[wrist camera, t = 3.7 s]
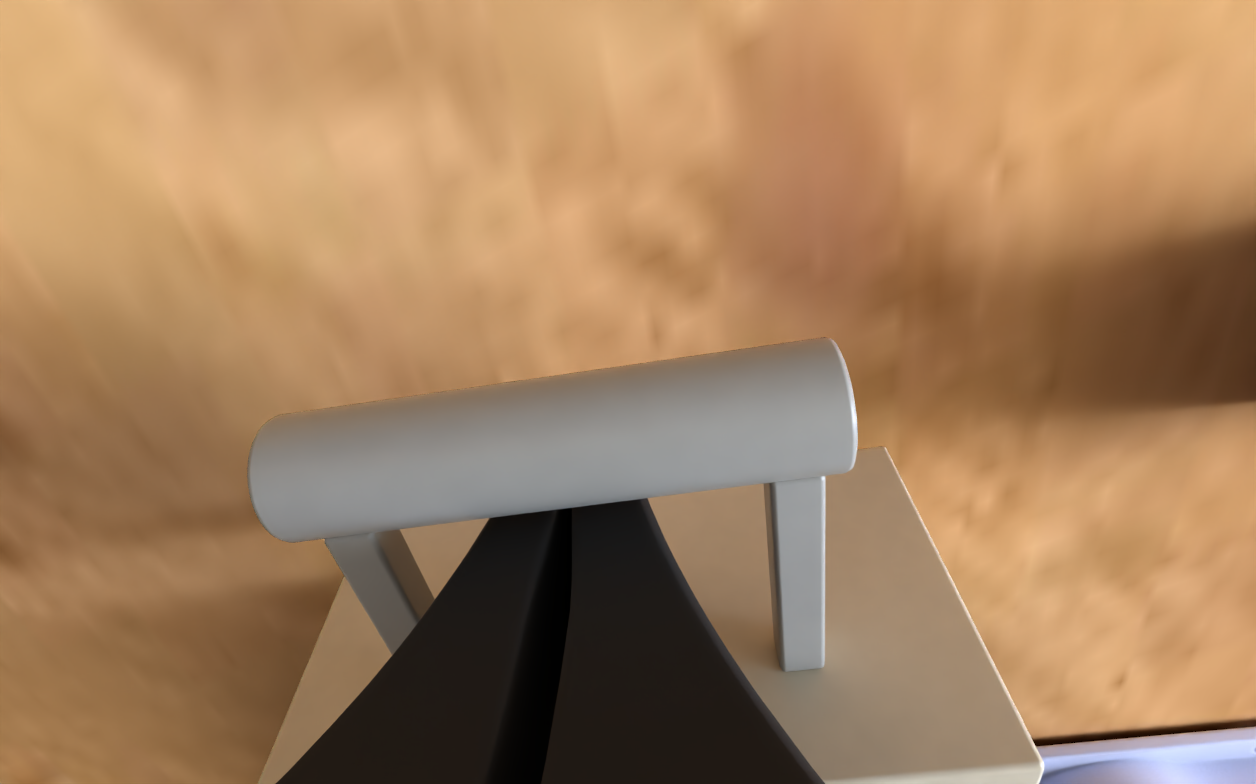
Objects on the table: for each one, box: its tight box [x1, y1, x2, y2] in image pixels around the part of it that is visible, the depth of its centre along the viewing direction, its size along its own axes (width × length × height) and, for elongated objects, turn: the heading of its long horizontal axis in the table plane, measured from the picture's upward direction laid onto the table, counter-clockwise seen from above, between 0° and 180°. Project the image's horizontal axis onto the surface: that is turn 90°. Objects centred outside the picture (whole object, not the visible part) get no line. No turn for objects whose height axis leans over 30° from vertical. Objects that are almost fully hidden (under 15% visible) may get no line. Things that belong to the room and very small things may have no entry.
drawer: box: [247, 337, 1044, 784], centre depth 12 cm, size 16×10×6 cm, turn 9°
